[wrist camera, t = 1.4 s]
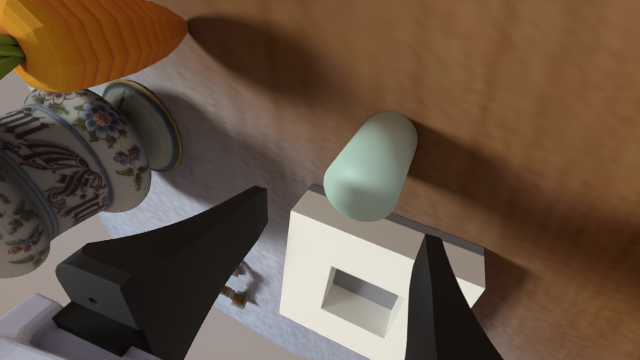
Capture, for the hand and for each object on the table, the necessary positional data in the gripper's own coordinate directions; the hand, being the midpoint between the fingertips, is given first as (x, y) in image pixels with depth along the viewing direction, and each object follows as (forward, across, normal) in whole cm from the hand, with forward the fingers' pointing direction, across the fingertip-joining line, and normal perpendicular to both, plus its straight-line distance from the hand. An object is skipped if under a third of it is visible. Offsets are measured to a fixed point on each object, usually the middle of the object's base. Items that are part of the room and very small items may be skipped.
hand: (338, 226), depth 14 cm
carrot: (+11, +16, -5) cm, 20 cm away
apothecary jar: (+12, +24, +6) cm, 27 cm away
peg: (+10, -1, 0) cm, 10 cm away
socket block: (+10, -2, +13) cm, 16 cm away
